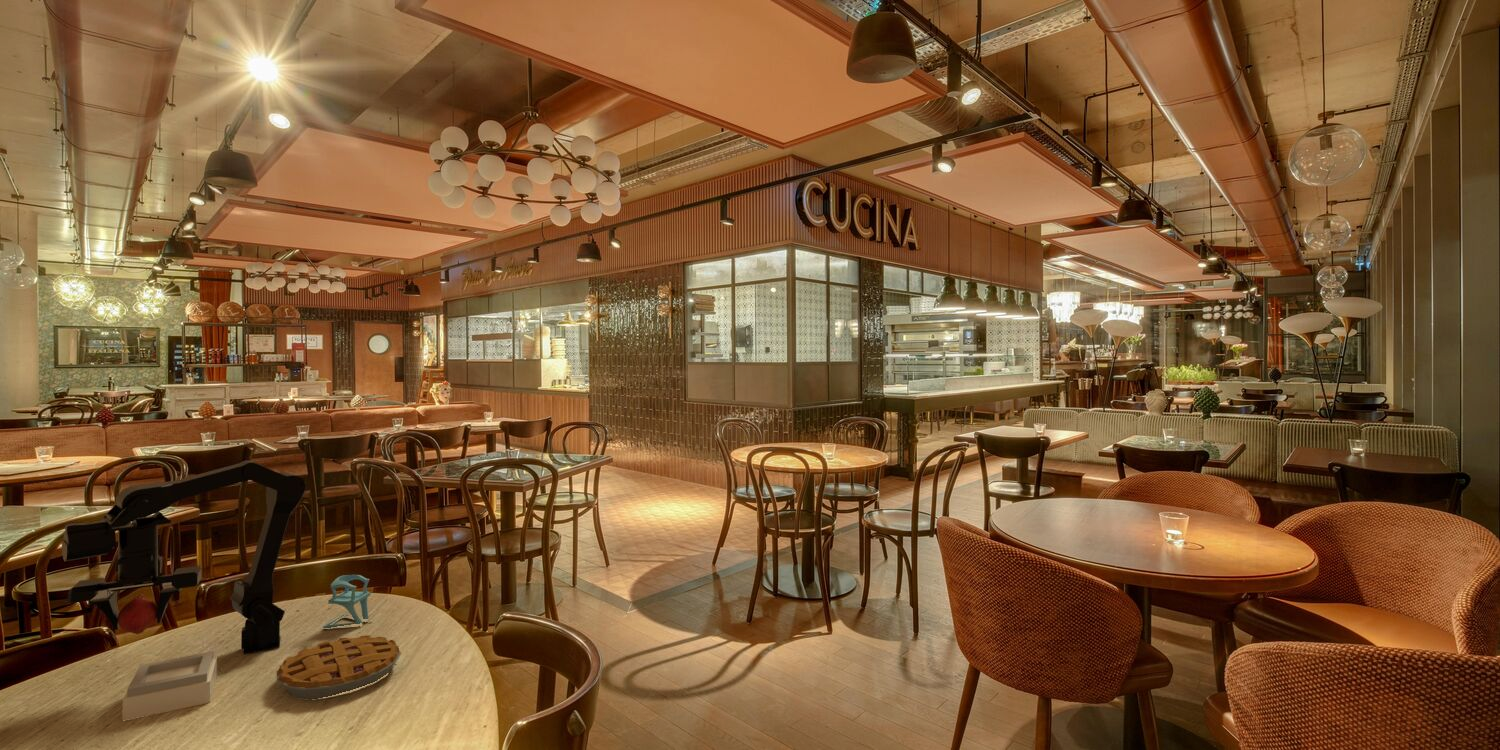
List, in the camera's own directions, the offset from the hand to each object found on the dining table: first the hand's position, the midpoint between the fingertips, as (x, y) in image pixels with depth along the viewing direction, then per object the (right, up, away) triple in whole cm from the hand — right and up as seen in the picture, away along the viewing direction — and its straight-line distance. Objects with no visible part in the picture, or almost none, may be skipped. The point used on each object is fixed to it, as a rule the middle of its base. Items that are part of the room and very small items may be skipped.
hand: (138, 625), depth 127 cm
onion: (0, -2, 0) cm, 2 cm away
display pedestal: (+12, -12, -5) cm, 17 cm away
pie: (+38, -13, +5) cm, 40 cm away
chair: (+23, -12, +30) cm, 40 cm away
